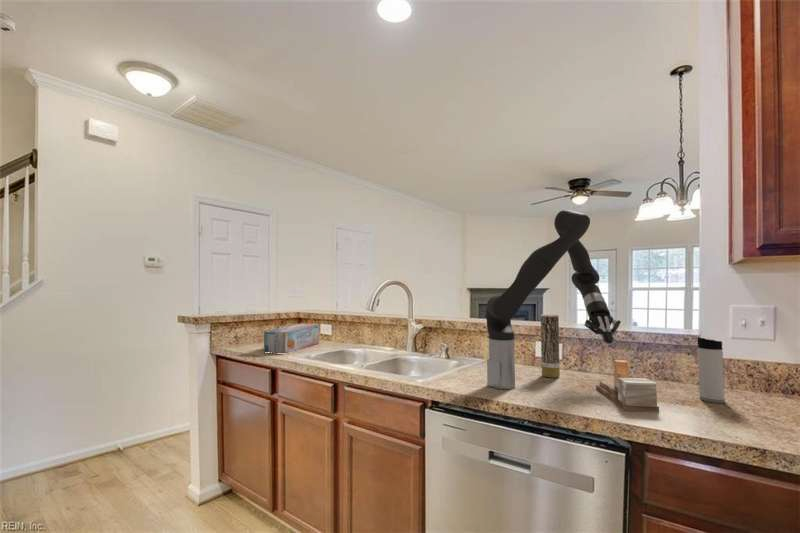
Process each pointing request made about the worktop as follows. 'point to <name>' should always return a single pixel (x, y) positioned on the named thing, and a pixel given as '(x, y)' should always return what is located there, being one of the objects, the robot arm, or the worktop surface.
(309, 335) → the soda box
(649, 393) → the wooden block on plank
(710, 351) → the travel mug
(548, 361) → the bark textured post
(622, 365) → the orange flat block
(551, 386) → the worktop surface
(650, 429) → the worktop surface
